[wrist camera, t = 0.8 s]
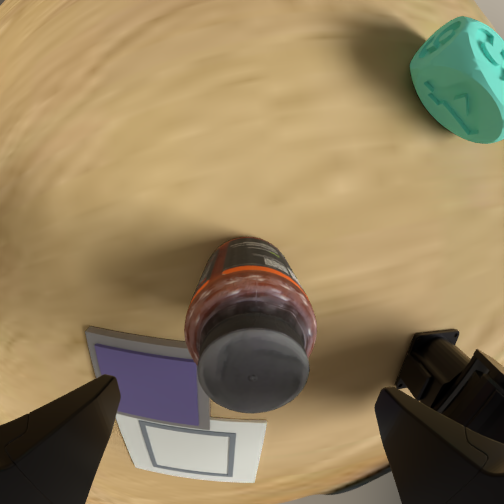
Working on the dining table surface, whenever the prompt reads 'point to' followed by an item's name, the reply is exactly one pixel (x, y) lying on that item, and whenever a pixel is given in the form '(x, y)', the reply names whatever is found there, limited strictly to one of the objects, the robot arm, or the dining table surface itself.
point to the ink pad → (151, 377)
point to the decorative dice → (463, 79)
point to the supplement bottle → (250, 328)
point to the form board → (196, 448)
